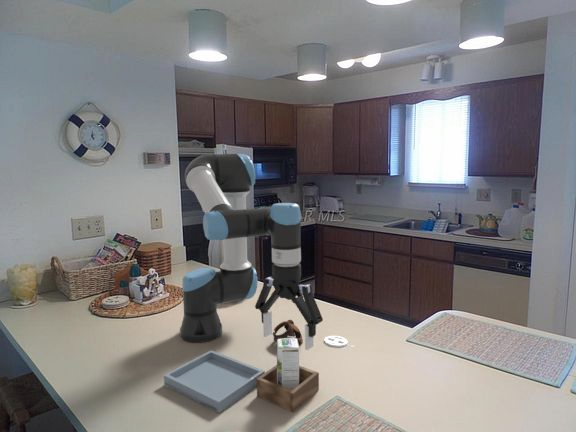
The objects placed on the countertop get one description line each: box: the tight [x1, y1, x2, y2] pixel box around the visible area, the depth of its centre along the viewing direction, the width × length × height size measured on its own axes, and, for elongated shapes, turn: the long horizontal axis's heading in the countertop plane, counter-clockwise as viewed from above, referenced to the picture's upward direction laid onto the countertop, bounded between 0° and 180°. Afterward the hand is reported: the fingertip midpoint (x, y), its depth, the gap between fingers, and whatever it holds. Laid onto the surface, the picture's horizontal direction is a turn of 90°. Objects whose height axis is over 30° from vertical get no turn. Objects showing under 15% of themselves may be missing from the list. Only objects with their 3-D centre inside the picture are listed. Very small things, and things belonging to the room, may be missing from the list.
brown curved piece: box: [272, 319, 304, 345], centre depth 140 cm, size 12×10×8 cm
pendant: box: [323, 335, 355, 348], centre depth 138 cm, size 7×11×1 cm, turn 56°
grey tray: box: [163, 349, 266, 414], centre depth 114 cm, size 22×18×3 cm
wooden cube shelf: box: [256, 364, 320, 413], centre depth 109 cm, size 12×12×5 cm
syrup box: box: [276, 337, 300, 390], centre depth 108 cm, size 6×6×14 cm
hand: (287, 341), depth 107 cm, fingers open, 13 cm apart
